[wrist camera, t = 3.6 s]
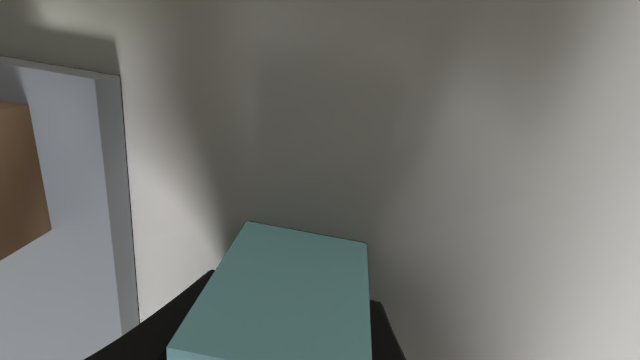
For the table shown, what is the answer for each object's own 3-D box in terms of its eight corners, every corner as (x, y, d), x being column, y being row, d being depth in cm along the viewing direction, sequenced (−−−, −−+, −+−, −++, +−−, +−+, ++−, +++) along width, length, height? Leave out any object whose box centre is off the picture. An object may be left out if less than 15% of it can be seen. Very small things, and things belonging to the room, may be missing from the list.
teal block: (345, 334, 12) (337, 505, 8) (239, 313, 13) (170, 469, 8) (366, 243, 11) (373, 389, 6) (246, 221, 11) (166, 347, 6)
